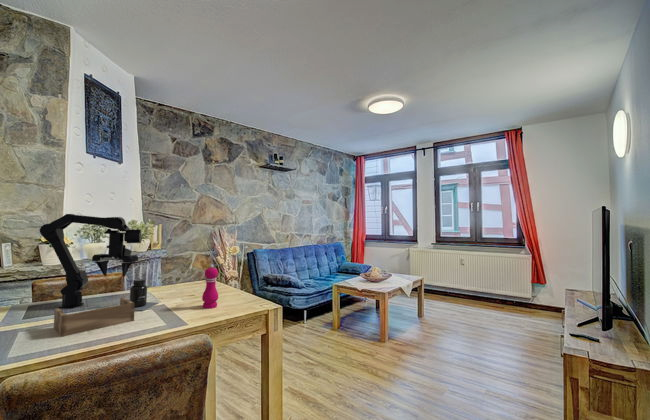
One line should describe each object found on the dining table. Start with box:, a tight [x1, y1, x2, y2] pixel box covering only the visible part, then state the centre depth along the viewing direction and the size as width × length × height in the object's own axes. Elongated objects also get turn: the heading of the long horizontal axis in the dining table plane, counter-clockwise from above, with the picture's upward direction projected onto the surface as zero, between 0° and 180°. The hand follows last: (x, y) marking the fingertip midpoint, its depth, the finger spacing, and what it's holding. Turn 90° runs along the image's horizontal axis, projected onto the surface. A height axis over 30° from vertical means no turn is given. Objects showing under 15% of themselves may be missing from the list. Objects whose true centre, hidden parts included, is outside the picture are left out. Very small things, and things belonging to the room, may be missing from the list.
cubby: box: [53, 297, 135, 337], centre depth 117 cm, size 12×22×7 cm, turn 142°
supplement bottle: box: [129, 278, 148, 308], centre depth 140 cm, size 7×7×12 cm
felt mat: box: [134, 301, 159, 312], centre depth 140 cm, size 12×12×1 cm
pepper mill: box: [201, 263, 219, 309], centre depth 144 cm, size 7×7×20 cm
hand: (114, 276), depth 144 cm, fingers open, 9 cm apart
